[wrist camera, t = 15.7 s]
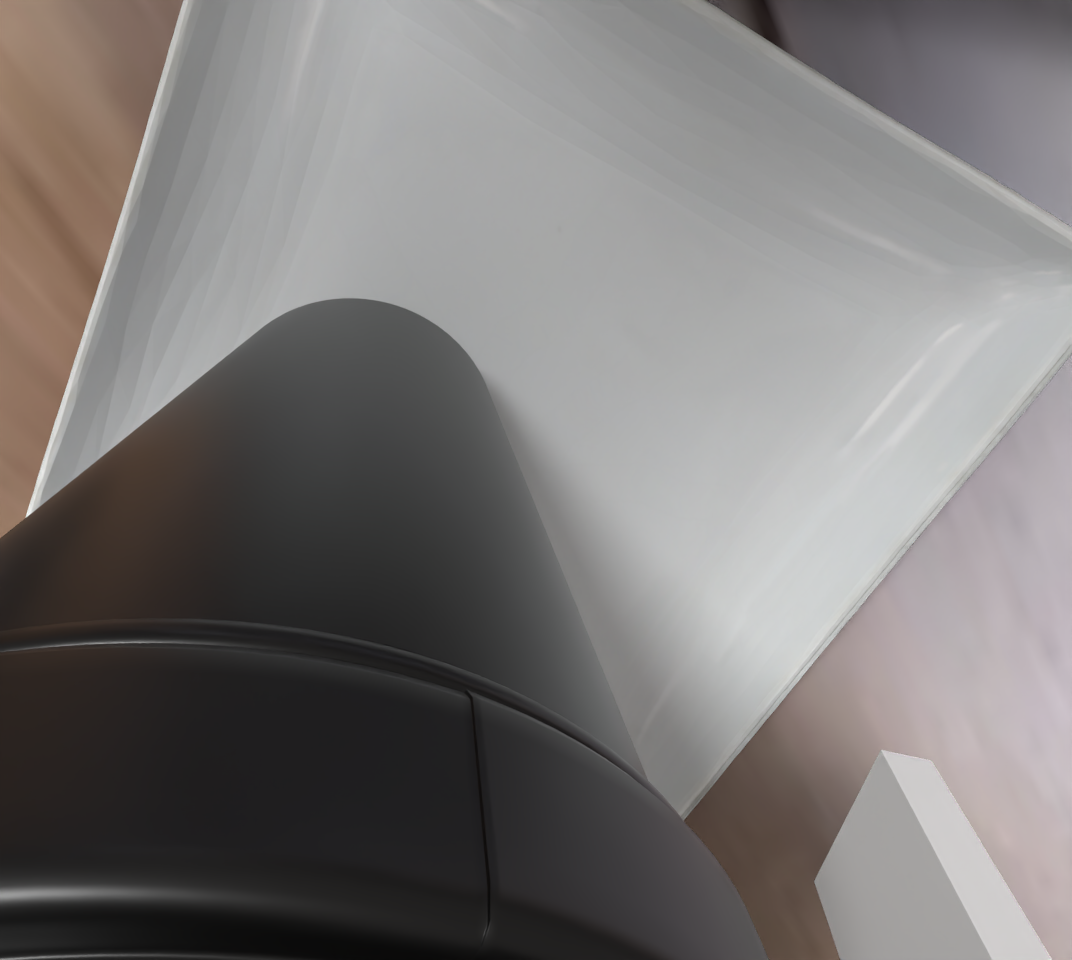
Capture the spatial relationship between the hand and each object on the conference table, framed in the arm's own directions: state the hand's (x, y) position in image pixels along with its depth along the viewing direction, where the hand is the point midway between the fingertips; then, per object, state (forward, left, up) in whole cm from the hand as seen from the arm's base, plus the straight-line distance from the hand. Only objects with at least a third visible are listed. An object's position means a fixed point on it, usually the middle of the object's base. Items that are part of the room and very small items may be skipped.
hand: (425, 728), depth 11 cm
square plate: (0, 0, -18) cm, 18 cm away
